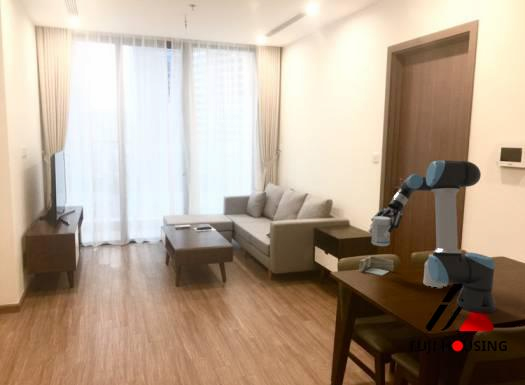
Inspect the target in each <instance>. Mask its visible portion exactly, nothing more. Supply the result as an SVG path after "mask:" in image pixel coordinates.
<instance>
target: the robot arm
mask: <svg viewBox="0 0 525 385" xmlns="http://www.w3.org/2000/svg"><path fill="white" fill-rule="evenodd" d="M481 176H482V175H481V170H480V168H479V167H478V165H476V164H475V163H473V162H471V161H466V160H444V159H442V160H434V161H432V162H431V163H430V164H429V165H428V168H427V170H426V173H425V176H421V175H420V174H418V173H413V174H410V176H408V177H407V178H406V179H405V180H404V181H403V182H402V183H401V185H400V187H399V188H398V190H397V192H396V193H395V194H394V195H393V197H392V198H391V200H390V202H389V203H388V205H387V207H386V208H385V207H381V208H380V210H379V211H378V212H376V214H375V215H373V217H376V216H382V217H389V218H390V219H391V220H390V221H391V224H390V225H389V226H388V228H387V230H386V231H385V233H384V234H383V235H384V237H385V238H387V236H388V235H389V233H390V234H391V233H392V232H393V231H394V229H399V227H400V224H401V221H402V218H403V216H404V215H405V214H404V212H403V211H402V210H403V209H404V207H405V206H406V205H407V202H408V201H409V199H410V198H411V196H412V195H413V194H414V193H415V192H416V191H417V192H423V191H424V192H426V191H427V192H432V193H433V194H434V201H435V202H434V203H435V204H434V205H435V207H434V208H435V238H436V239H435V240H436V241H435V242H436V244H435V245H436V246H435V247H436V248H435V249H434V250H433V251H432V254H433V256H430V257H429V256H428V259H427V260H429V261H428V269H429V273H430V275H431V277H432V279H433V280H434V281H435V282H437V283H445V284H447V283H448V284H458V285H459V284H461V285H462V288H461V289H460V291H459V293H458V294H457V295H458V296H457V298H456V304H457V303H458V304H459V306H458V307H460V308H462V309H464V310H467V311H469V312H473V313H474V312H475V313H481V314H483V313H484V314H490V313H493V312H495V310H496V302H495V298H494V295H493V285H494V276H495V270H496V269H495V260H494V259H493V258H491V257H490V256H486V255H484V254H480V253H476V252H465V254H464V256H463V252H462V251H461V250H459V248H458V247H459V246H458V218H457V214H458V213H457V212H458V211H457V194H458V192H460V188H466V187H467V188H469V187H472V186H474V185H477V183H479V181H480V180H481ZM373 217H372V218H371V219H370V220H371V222H372V221H373ZM367 232H368V233H369V234H370V235H372V223H371V224H370V227H369V229H368V230H367Z"/></svg>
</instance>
